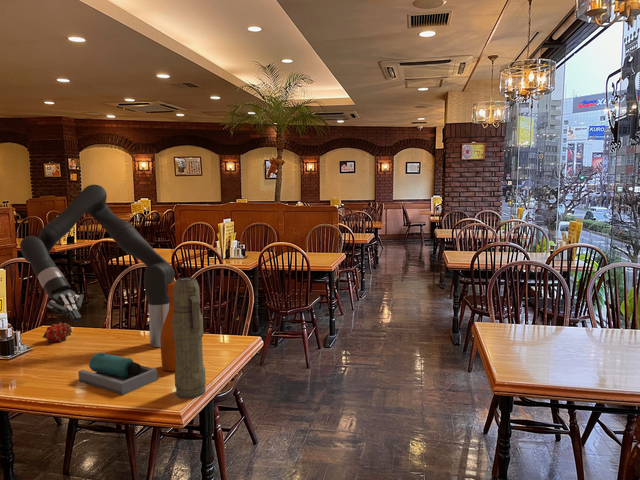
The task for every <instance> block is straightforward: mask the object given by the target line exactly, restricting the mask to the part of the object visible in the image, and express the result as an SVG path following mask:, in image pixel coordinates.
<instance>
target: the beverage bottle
mask: <svg viewBox="0 0 640 480" xmlns="http://www.w3.org/2000/svg"><path fill="white" fill-rule="evenodd" d="M88 364H89V365H88V366H89V369H90V370H91V371H92V373H96V372H99V373H102V374H103V373H104V374H109V375H115V376H119V377H123V378H126V377H128V376H130V375H131V376H136V375H138V374H139V373H140V371H141V366H142V365H141V364H140V363H137V362H134V360H133V359H132V358H130V357H123V356H119V355H115V354H114V355H113V354H109V353H106V352H105V353H104V352H97V353H95V354H93V355H92V356H91V358H90V359H89V363H88ZM140 365H141V366H140Z"/></svg>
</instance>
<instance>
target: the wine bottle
mask: <svg viewBox="0 0 640 480" xmlns="http://www.w3.org/2000/svg"><path fill="white" fill-rule="evenodd" d="M174 284H175V282H170V283H168V284H167V293H168V296H169V310H168V314H167V316H166V319H165V321H164V324H163V327H162V331H161V336H160V344H161V347H160V356H161V357H160V358H161V367H162V368H163V370H165V371H166V372H175V371H176V354H175V340H174V338H173V326H172V320H173V316H174V310H175V308H174V302H173V288H174Z"/></svg>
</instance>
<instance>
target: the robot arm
mask: <svg viewBox="0 0 640 480" xmlns="http://www.w3.org/2000/svg"><path fill="white" fill-rule="evenodd" d="M85 213H87V214H88V215H89V216H91V218H93V219H94V220H95V221H96V222H97V223H98V224H99V225H100V226H101V227H102V228H103V230H105V232H106V233H107V234H108V235H109V236H110V237H111V238H112V240H113V241H114V242H115V243H116V244H117V245H118V247H119V248H120V249H121V250H123V252H125V253H126V254H128V255H129V256H132V257H134V258H135V259H137V260H139V261H140V262H142V263H143V265H145V266H146V268H145V270H144V274H143V282H144V292H145V297H146V299H147V304H148V305H147V306H148V320H149V322H148V323H149V325H148V326H149V343H150V344H149V345H150V346H151V347H153V348H161V344H160V336H161V331H162V327H163V324H164V321H165V319H166V316H167V314H168V310H169V296H168V289H167V285H168V284H170V283H173V281H174V279H175V275H176V274H175V270H174V267H173V266H172V265H171V264H170V263H169V262H168V261H167V260H166V259H165V258H163V257H162V255H160V254H159V253H158V252H157V251H156V250H154V248H153V247H152V245H150V244H149V242H148V241H147V240H146V239H145V238H144V237H143V236H142V235H141V233H139V231H138V230H137V229H136V228H135V227H134V225H132V224H131V223H130V222H128V221H127V220H124V219H123V218H120V217H118V216H116V214H115V213H114V212H113V211H112V210H111V209H110V208H109V205H107V191H106V189H105V188H104V187H103V186H101V185H100V184H89V185H87V186H86V187H84V188H83V189H82V191H81V192H80V193H79V194H78V195H77V197H76V198H75V199H73V201H72V202H71V203H70V204H69V205H68V206H67V207H65V209H64V210H63V211H61V212H60V213H59V214H58V215H57V216H56V217H55V218H53V219H52V220H51V221H50V222H48V223H47V224H45V226H44V227H42V228H41V229H40V230H39V235H38V236H36V235H35V236H34V235H29V236H25V237H23V238H22V239H21V241H20V245H19V247H20V251H21V254H22V257H23V258H24V259H25V261H26V262H29V263H30V265H31V269H32V270H33V273H34V274H35V276H36V277H37V279H38V281H39V284H40V286H41V287H42V289H43V290H44V292H45V293H46V295H47V297H48V298H49V301H48V303H47V305H46V308H47V309H49V310H50V311H52V312H55V313H57V314H60V315H68V317H69V318H70V319H71V321H72V322H73V323H77V322H80V321H81V318H82V315H81V314H80V312H79V310H80V309H81V307H82V303H83V300H84V294H83V293H81V294H76V292H75V291H73V290H72V286H71V285H70V283H69V282H68V281H67V280H68V279H66V278H65V276H64V273H62V271H61V270H60V269H59V267H57V265H56V263H55V262H54V260H53V259H52V258H51V256H50V252H51V251H52V250H53V247H54V246H55V245H56V243H58V242H59V241H60V240H61V239H62V238H64V237H65V236H66V235H67V234H68V233H69V232H70V231H71V230H72V229H73V228H74V226H76V224H77V223H78V221H79V220H80V218H81V217H83V215H84V214H85Z"/></svg>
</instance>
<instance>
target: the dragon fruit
mask: <svg viewBox="0 0 640 480" xmlns="http://www.w3.org/2000/svg"><path fill="white" fill-rule="evenodd" d="M72 329H73V328H72V325H70V324H69V323H68V322H67V323H66V322H64V323H62V322H61V321H59V322H58V323H56V324H55V323H52V324H51V325H50V326H48V327H47V328H46V331H45V332H44V334H43V336H42V338H43V339H46V340H45V341H46V342H48V343H56V342H57V341H58V342H59V343H60V342H62V341H64V340H66V339H67V338H68V337H70V336H72V335H73V334H71V333H73V330H72Z"/></svg>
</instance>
